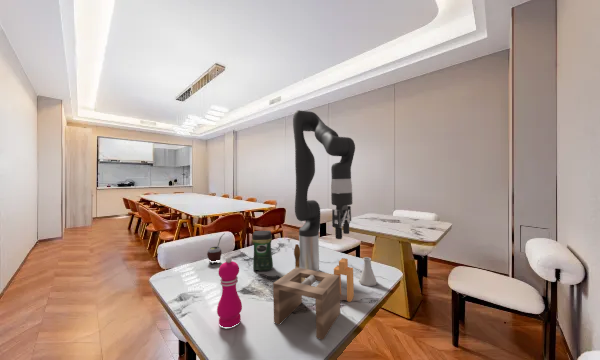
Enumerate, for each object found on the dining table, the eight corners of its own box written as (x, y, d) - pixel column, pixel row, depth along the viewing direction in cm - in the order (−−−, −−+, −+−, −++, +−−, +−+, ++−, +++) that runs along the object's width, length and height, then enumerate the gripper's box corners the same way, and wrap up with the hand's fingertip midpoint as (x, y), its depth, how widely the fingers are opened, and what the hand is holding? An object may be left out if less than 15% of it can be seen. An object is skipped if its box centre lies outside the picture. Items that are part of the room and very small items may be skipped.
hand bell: (285, 280, 98) (284, 243, 98) (302, 277, 101) (302, 241, 101) (292, 289, 90) (291, 248, 90) (311, 284, 94) (310, 245, 94)
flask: (378, 287, 90) (377, 261, 90) (359, 285, 92) (358, 261, 92) (375, 279, 97) (375, 256, 97) (358, 278, 99) (357, 255, 99)
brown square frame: (273, 323, 69) (273, 283, 69) (296, 301, 81) (296, 267, 81) (323, 339, 61) (322, 294, 61) (340, 312, 73) (339, 275, 73)
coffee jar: (273, 265, 116) (272, 228, 116) (272, 271, 108) (271, 232, 108) (254, 265, 116) (253, 229, 116) (251, 272, 108) (250, 232, 108)
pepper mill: (220, 316, 73) (219, 253, 73) (244, 315, 73) (242, 252, 73) (214, 331, 65) (212, 261, 65) (240, 329, 66) (238, 260, 66)
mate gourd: (204, 265, 119) (204, 236, 119) (213, 259, 126) (212, 232, 126) (218, 265, 117) (217, 236, 117) (225, 260, 125) (225, 232, 125)
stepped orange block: (334, 298, 83) (333, 260, 83) (338, 293, 86) (337, 257, 86) (350, 301, 80) (349, 263, 80) (353, 296, 83) (352, 259, 83)
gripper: (338, 190, 91) (339, 231, 91) (324, 192, 79) (325, 239, 79) (357, 190, 88) (358, 233, 88) (345, 192, 75) (346, 242, 75)
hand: (342, 236), depth 83 cm, fingers open, 8 cm apart
